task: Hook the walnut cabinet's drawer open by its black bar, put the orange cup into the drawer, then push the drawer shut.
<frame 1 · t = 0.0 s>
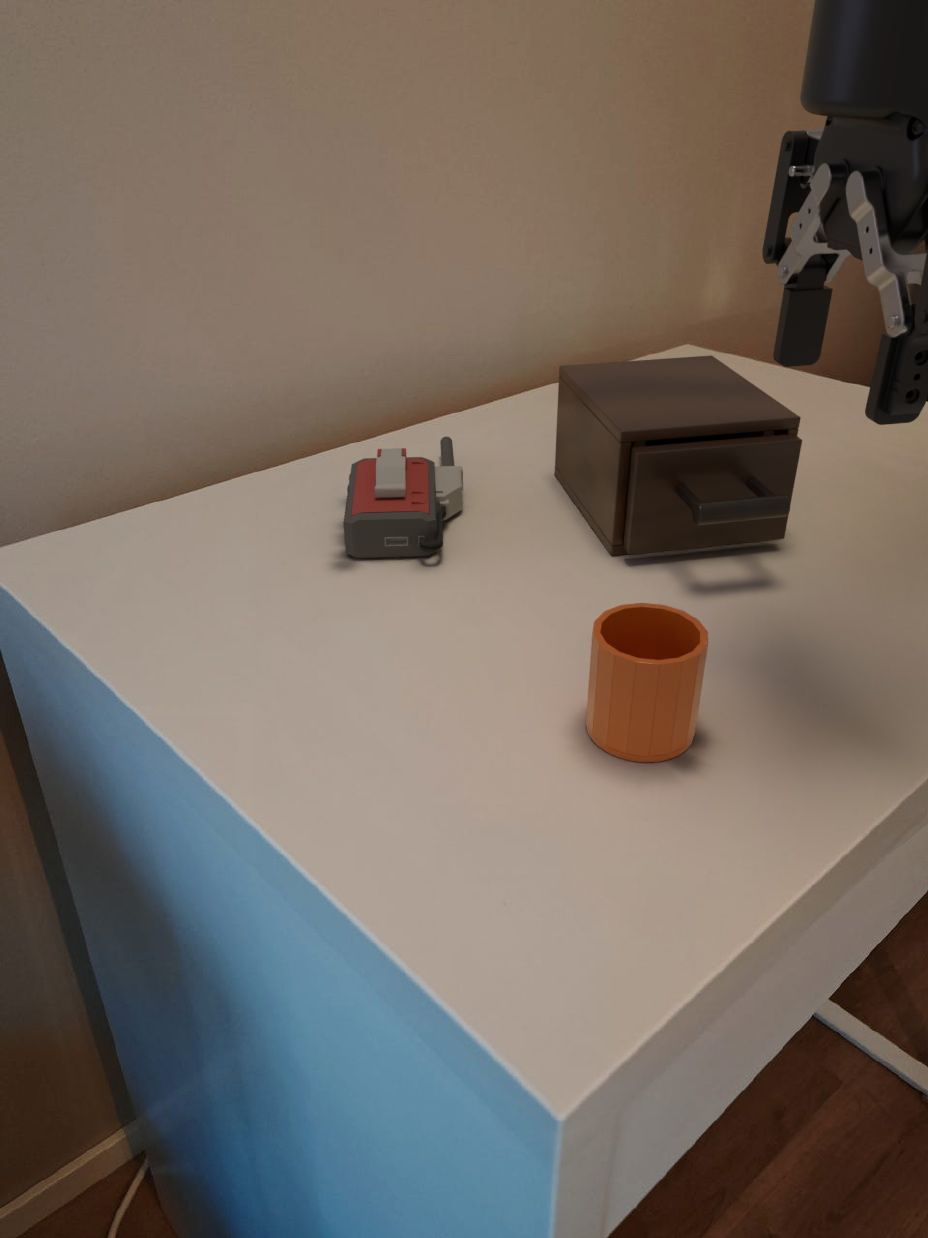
hand: (838, 390, 45), 17 cm above the table, tool pointing down, fingers open, 8 cm apart
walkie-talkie: (407, 507, 75), on the table
orange cup: (639, 728, 51), on the table
drawer: (688, 472, 68), point 5 cm above the table, slide at 0.5 cm
cabinet: (658, 504, 74), on the table
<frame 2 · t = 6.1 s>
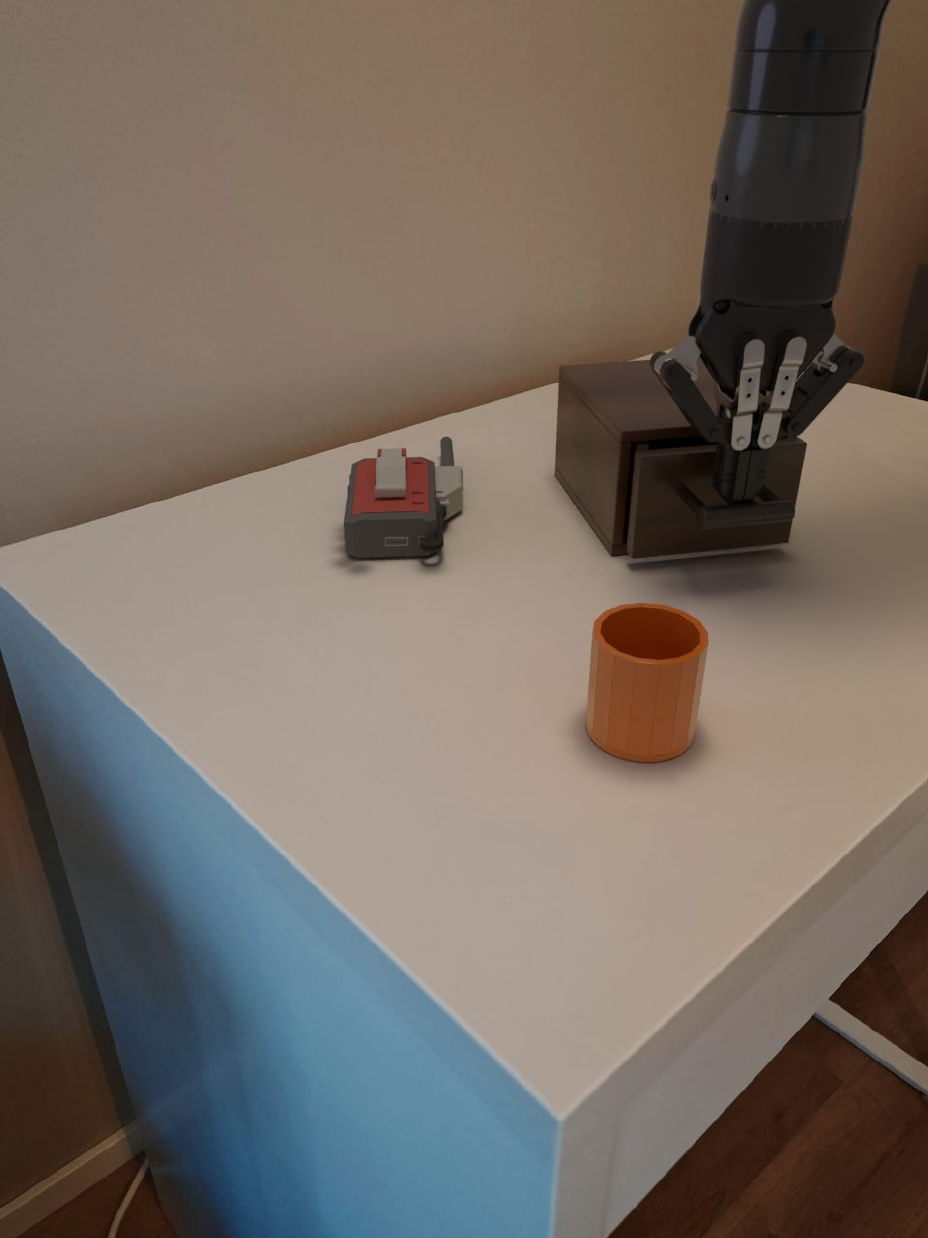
hand: (735, 499, 61), 6 cm above the table, tool pointing down, fingers closed
drawer: (691, 475, 68), point 5 cm above the table, slide at 1.2 cm, touching gripper
everything else where it was.
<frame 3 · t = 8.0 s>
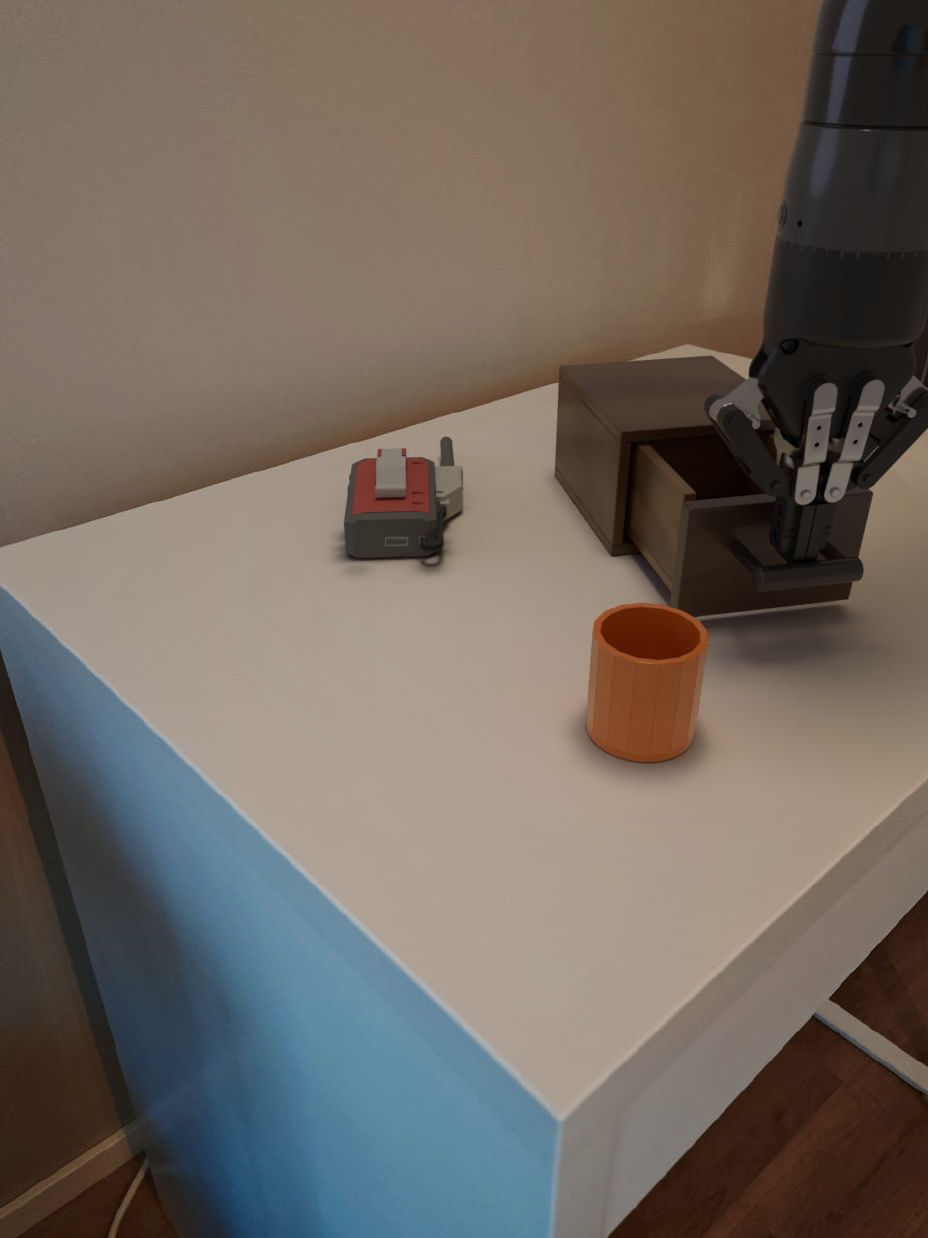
hand: (795, 556, 54), 6 cm above the table, tool pointing down, fingers closed
drawer: (740, 524, 61), point 5 cm above the table, slide at 9.0 cm, touching gripper
everything else where it was.
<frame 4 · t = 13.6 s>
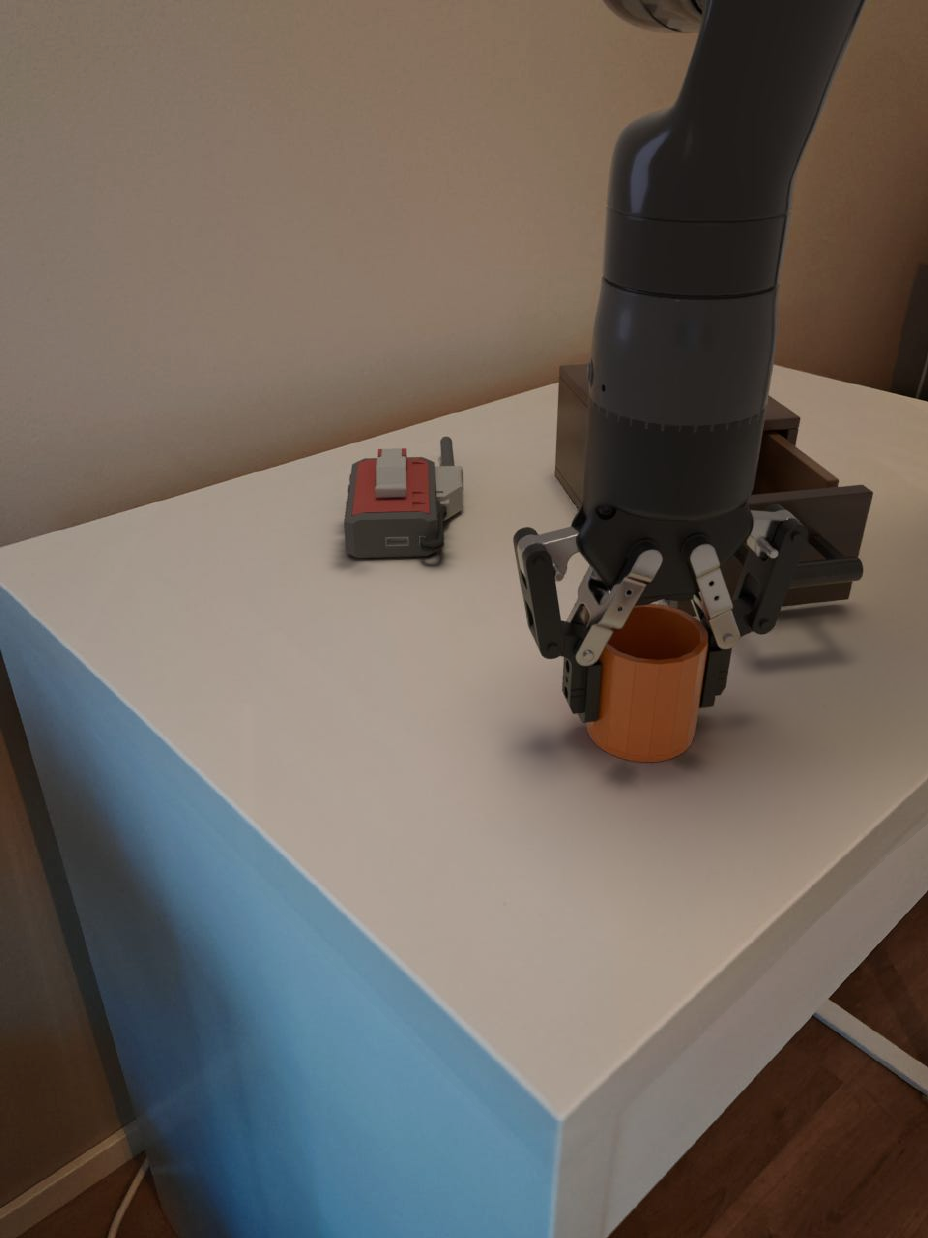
hand: (642, 704, 50), 2 cm above the table, tool pointing down, fingers closed on orange cup, 5 cm apart
orange cup: (639, 728, 51), on the table, touching gripper
drawer: (740, 524, 61), point 5 cm above the table, slide at 9.0 cm
everything else where it was.
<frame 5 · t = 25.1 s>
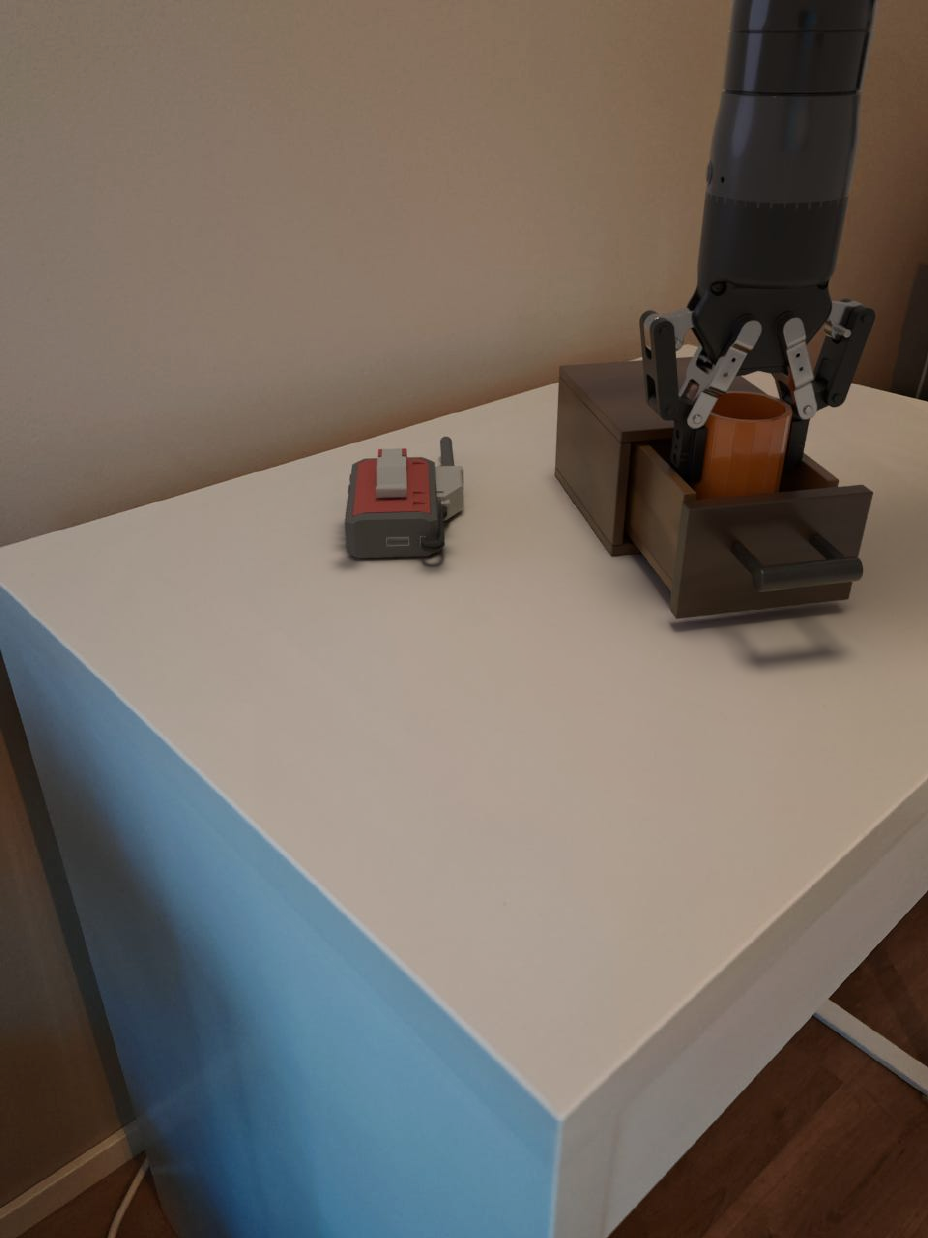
hand: (734, 473, 61), 7 cm above the table, tool pointing down, fingers closed on orange cup, 5 cm apart
orange cup: (731, 496, 62), point 6 cm above the table, touching gripper
everything else where it was.
when the fingers open (9 cm above the table, at t = 32.0 s): orange cup drops 5 cm, resting on drawer.
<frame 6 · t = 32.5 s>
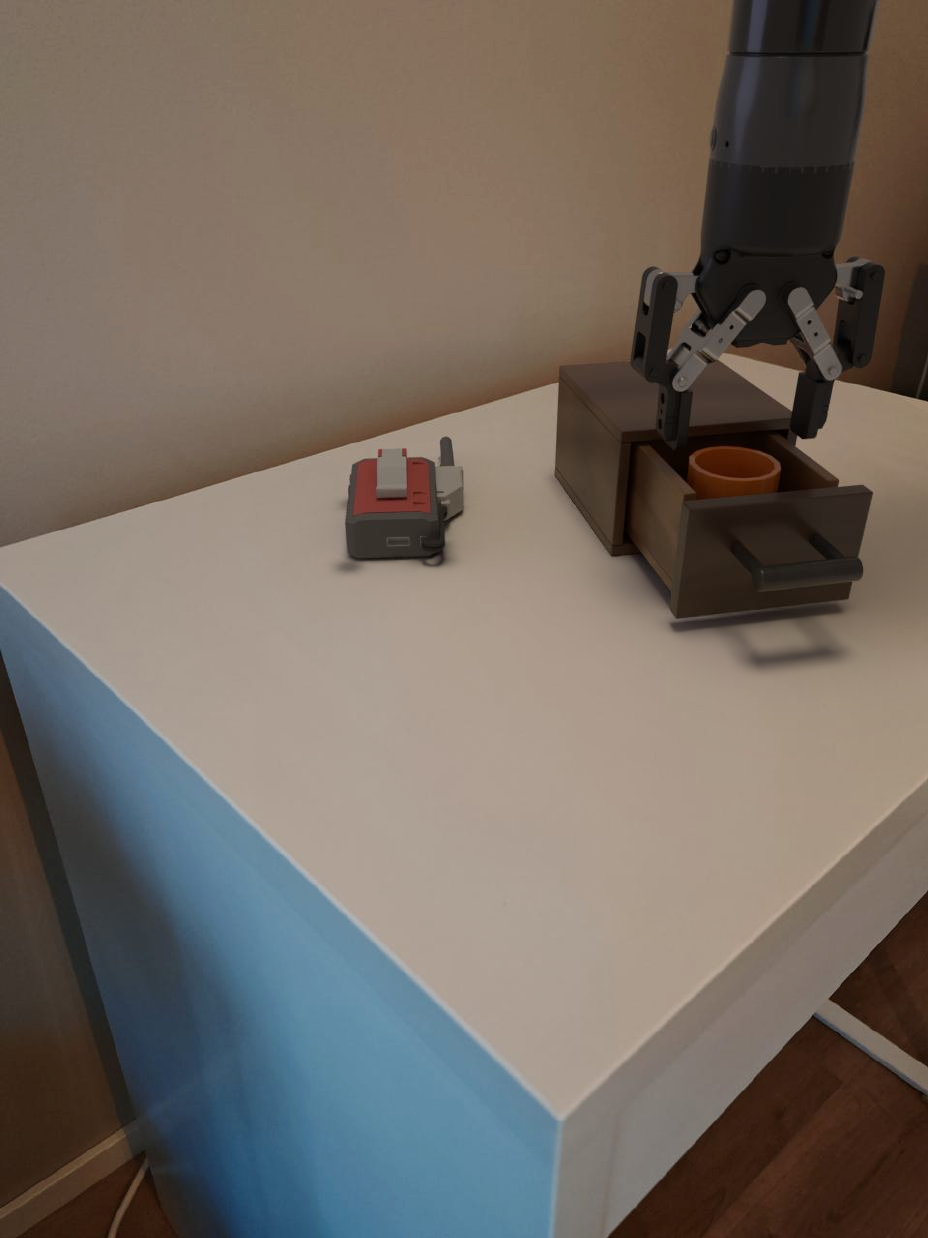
hand: (739, 440, 60), 9 cm above the table, tool pointing down, fingers open, 8 cm apart
orange cup: (721, 547, 64), point 2 cm above the table, touching drawer
drawer: (740, 524, 61), point 5 cm above the table, slide at 9.0 cm, touching orange cup
everything else where it was.
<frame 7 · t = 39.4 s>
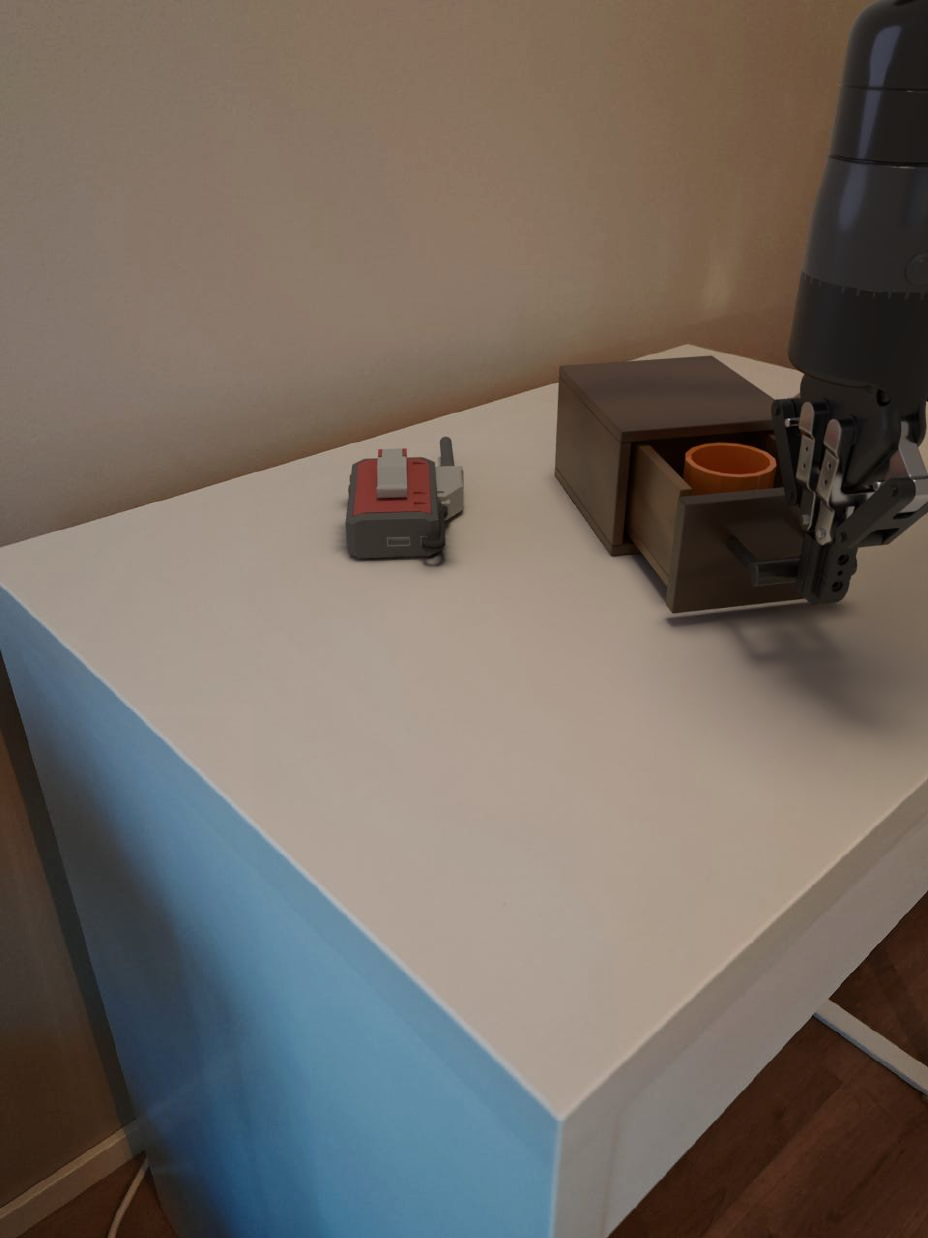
hand: (818, 596, 53), 5 cm above the table, tool pointing down, fingers closed
drawer: (736, 520, 62), point 5 cm above the table, slide at 8.4 cm, touching orange cup
everything else where it was.
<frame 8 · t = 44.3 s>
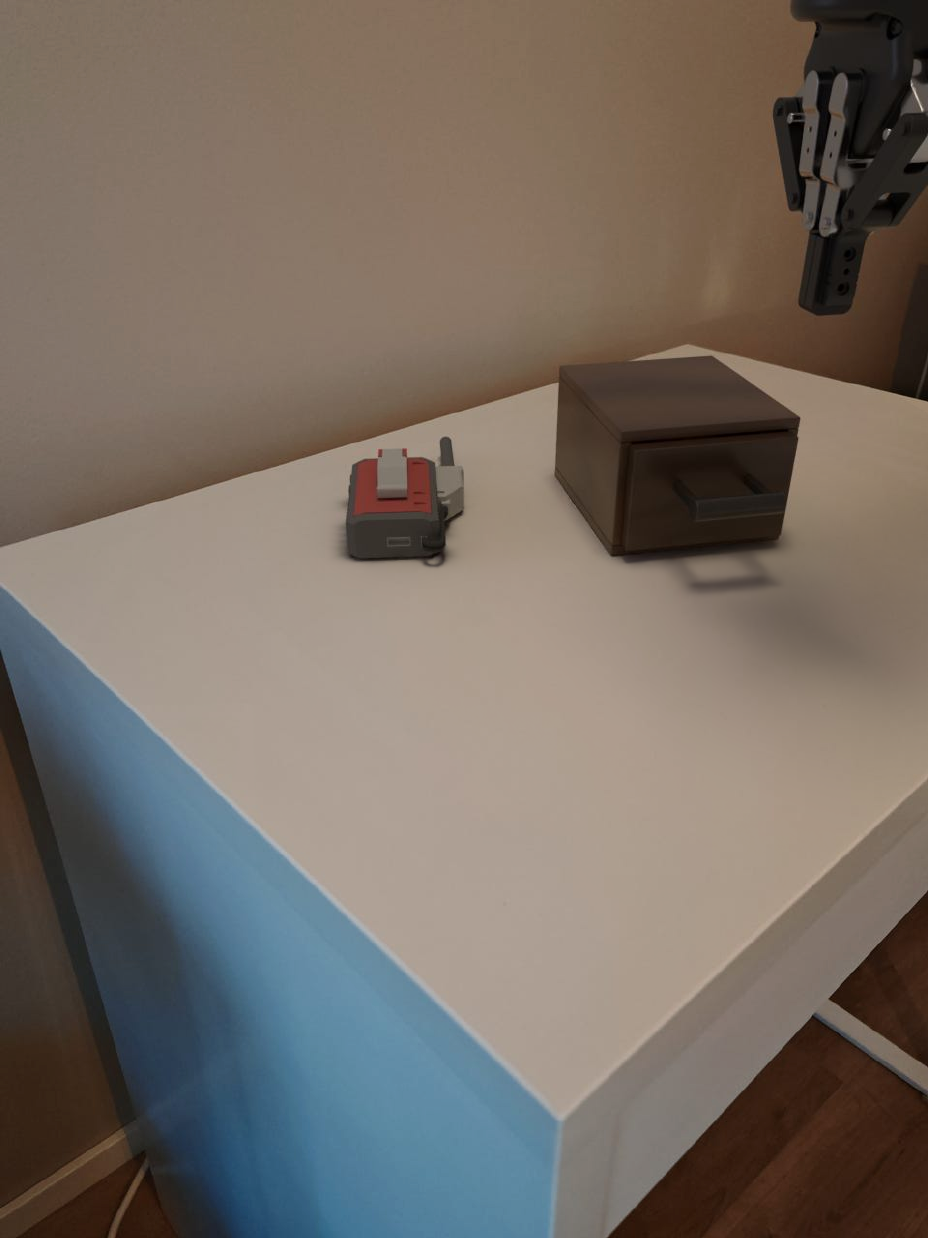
hand: (822, 310, 49), 19 cm above the table, tool pointing down, fingers closed
orange cup: (671, 492, 71), point 2 cm above the table, touching drawer
drawer: (685, 469, 69), point 5 cm above the table, slide at 0.0 cm, touching orange cup
everything else where it was.
at the end: orange cup inside the target area in the cabinet (3.0 cm from its centre), point 2.0 cm above the cabinet's base; drawer slide at 0.0 cm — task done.
